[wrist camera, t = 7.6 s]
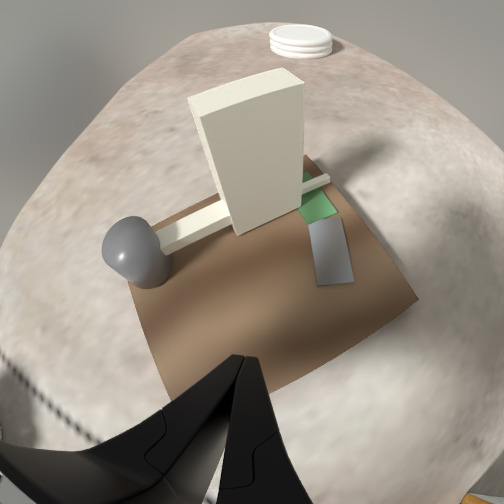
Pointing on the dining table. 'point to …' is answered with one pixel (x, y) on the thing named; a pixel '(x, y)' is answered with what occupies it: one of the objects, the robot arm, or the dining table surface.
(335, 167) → the dining table surface
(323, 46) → the coaster
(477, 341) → the dining table surface
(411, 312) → the dining table surface
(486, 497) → the small box
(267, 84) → the lever
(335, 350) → the brown flat panel
